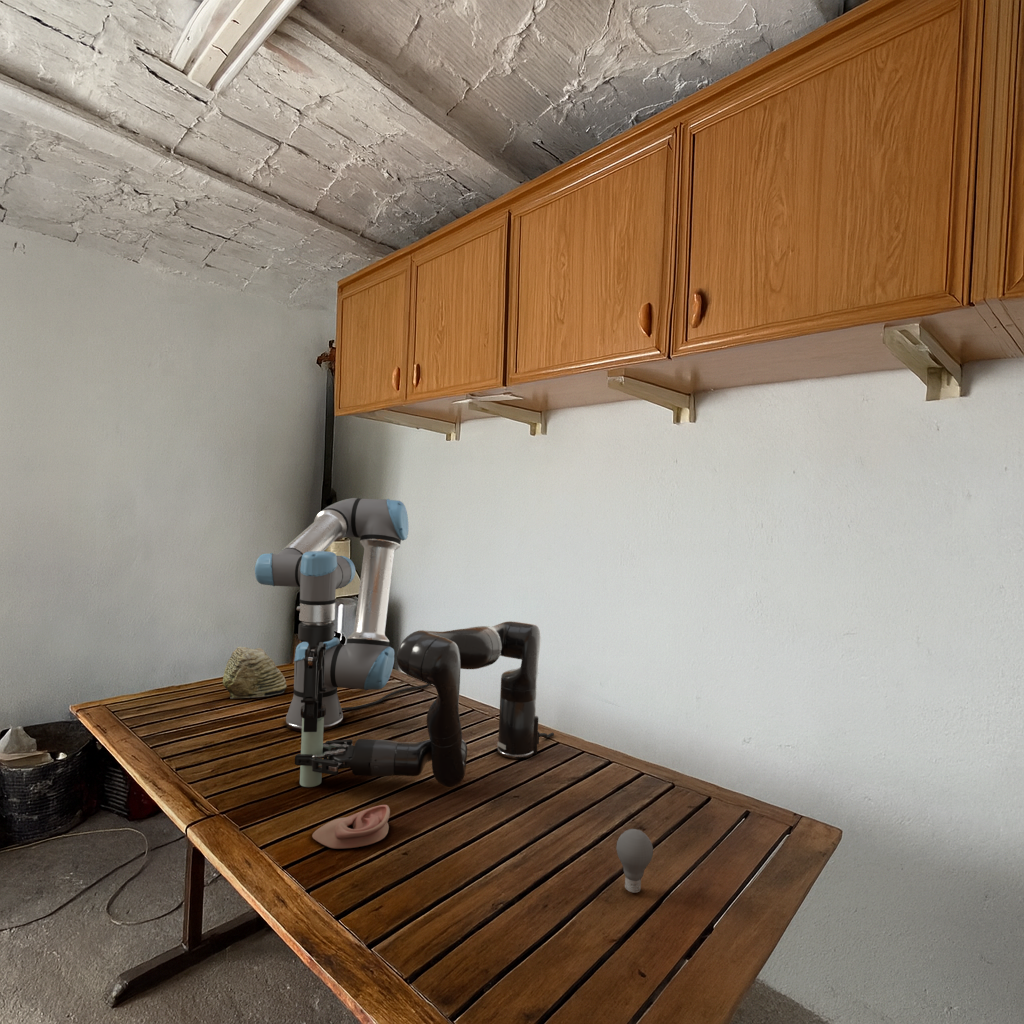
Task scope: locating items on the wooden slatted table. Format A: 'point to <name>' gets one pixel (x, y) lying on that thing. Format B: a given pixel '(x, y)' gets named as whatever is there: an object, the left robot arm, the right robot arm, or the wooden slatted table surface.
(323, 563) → the left robot arm
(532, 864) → the wooden slatted table surface
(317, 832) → the anatomical model
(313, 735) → the pale green cylinder
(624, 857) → the light bulb
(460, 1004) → the wooden slatted table surface
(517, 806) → the wooden slatted table surface
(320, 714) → the lid
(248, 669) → the fossil
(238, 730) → the wooden slatted table surface
